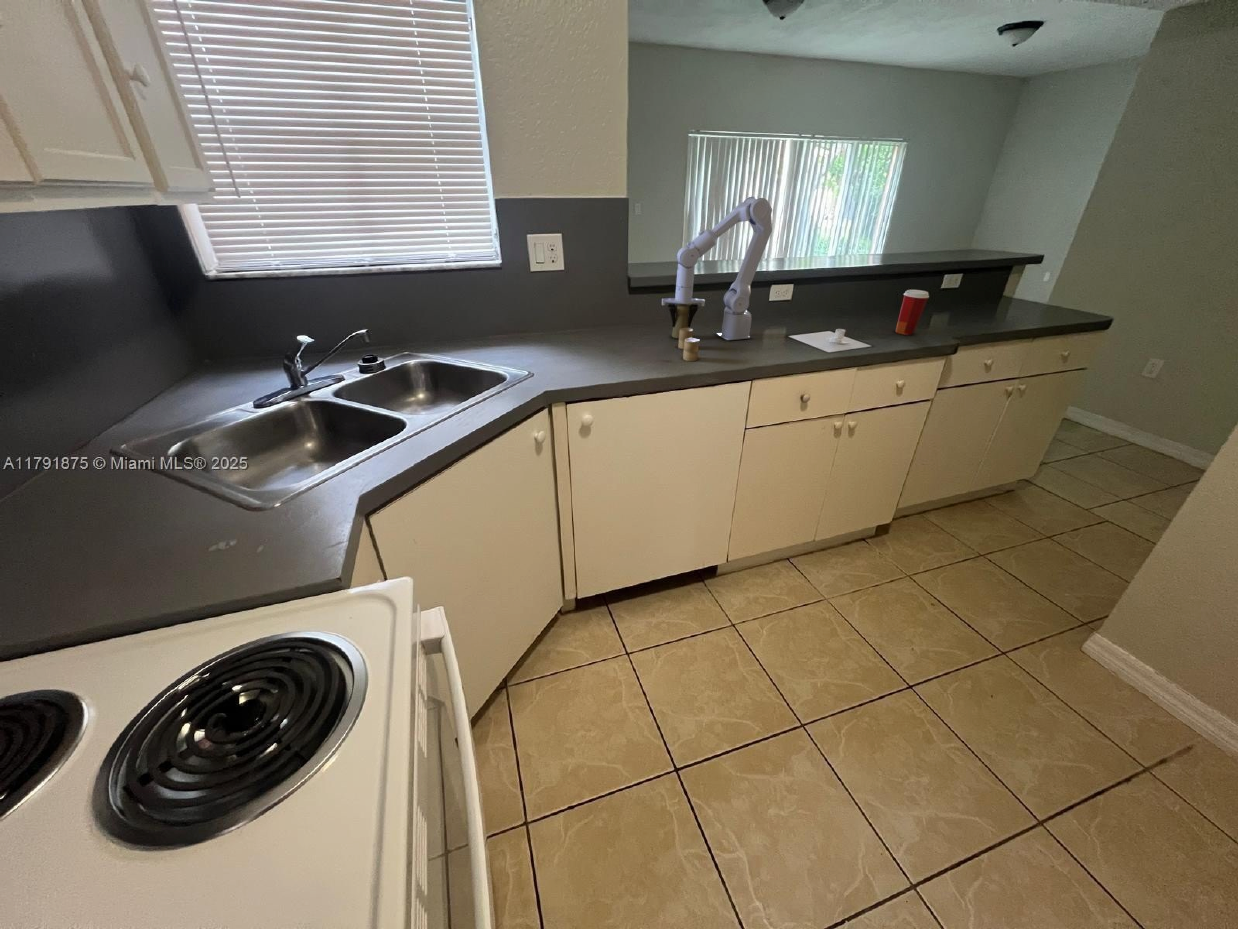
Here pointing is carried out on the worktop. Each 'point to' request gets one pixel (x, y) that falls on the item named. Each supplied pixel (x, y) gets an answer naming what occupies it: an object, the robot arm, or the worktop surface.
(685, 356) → the post
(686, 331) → the post
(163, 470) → the worktop surface
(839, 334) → the teacup and saucer
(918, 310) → the coffee cup
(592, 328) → the worktop surface
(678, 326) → the cork
